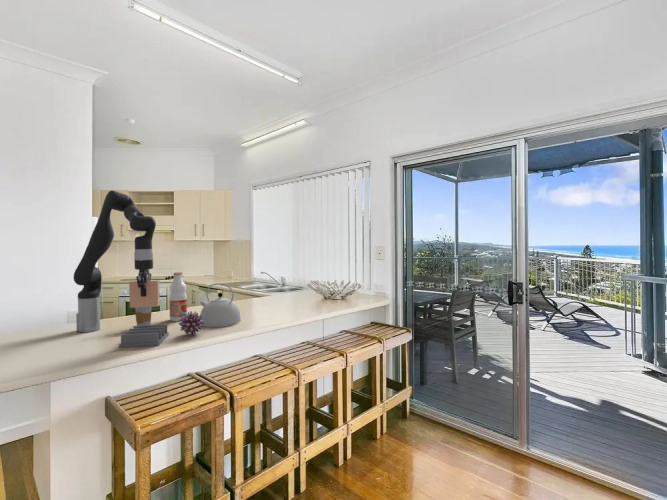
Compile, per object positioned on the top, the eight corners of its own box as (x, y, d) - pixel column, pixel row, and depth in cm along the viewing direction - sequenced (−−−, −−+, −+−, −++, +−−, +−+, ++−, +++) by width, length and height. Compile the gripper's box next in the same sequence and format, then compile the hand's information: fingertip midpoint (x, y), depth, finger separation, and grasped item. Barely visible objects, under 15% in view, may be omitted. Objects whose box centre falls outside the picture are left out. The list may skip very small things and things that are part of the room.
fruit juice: (170, 318, 205) (169, 272, 204) (187, 317, 208) (187, 271, 207) (168, 321, 196) (168, 273, 195) (186, 320, 199) (186, 273, 198)
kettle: (187, 325, 189) (186, 284, 189) (212, 316, 211) (211, 280, 210) (226, 328, 182) (225, 286, 182) (248, 319, 204) (247, 281, 203)
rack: (119, 347, 149) (119, 335, 149) (133, 336, 165) (133, 325, 165) (158, 345, 152) (158, 333, 152) (168, 335, 169) (168, 324, 169)
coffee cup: (155, 325, 187) (155, 298, 187) (146, 329, 179) (145, 301, 178) (141, 325, 188) (141, 298, 187) (131, 329, 180) (130, 301, 179)
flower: (190, 330, 177) (189, 308, 177) (209, 332, 173) (209, 309, 173) (173, 336, 166) (172, 312, 166) (193, 338, 162) (193, 314, 162)
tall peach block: (129, 307, 156) (129, 281, 156) (131, 306, 158) (131, 281, 158) (158, 306, 158) (157, 280, 158) (159, 305, 161) (159, 280, 161)
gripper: (140, 258, 164) (140, 293, 164) (129, 259, 150) (130, 298, 151) (157, 258, 165) (157, 293, 166) (147, 259, 152) (148, 298, 152)
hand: (144, 295), depth 158 cm, fingers closed on tall peach block, 2 cm apart
